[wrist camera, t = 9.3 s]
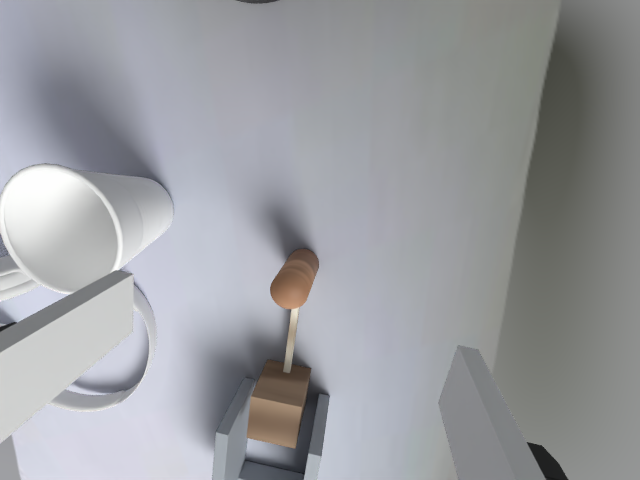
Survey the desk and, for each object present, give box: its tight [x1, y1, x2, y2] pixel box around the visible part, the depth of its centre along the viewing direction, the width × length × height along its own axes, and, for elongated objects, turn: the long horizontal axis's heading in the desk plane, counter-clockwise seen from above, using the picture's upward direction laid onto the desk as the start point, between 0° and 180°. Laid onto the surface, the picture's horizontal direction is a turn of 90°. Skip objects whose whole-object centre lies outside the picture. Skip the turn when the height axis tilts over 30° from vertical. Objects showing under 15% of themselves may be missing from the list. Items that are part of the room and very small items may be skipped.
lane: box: [212, 377, 330, 480], centre depth 38 cm, size 13×10×8 cm
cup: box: [0, 163, 174, 294], centre depth 31 cm, size 10×10×11 cm
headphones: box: [0, 255, 157, 412], centre depth 39 cm, size 7×18×20 cm
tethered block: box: [246, 249, 319, 449], centre depth 34 cm, size 19×5×7 cm, turn 171°
